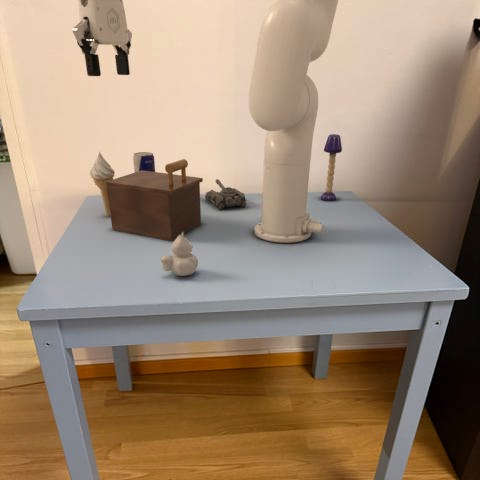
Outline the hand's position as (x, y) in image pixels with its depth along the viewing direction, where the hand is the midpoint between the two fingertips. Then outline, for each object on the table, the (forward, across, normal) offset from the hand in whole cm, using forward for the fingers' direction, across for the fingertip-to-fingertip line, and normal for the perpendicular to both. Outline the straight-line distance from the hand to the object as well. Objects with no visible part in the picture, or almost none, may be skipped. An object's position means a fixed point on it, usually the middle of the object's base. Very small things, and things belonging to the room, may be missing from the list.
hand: (109, 75), depth 100 cm
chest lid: (+20, -8, -16) cm, 27 cm away
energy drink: (+30, +9, 0) cm, 31 cm away
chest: (+30, -8, -15) cm, 35 cm away
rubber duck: (+30, -28, -34) cm, 53 cm away
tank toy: (+30, +16, -20) cm, 40 cm away
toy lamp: (+30, +33, -43) cm, 62 cm away
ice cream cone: (+30, -7, 0) cm, 31 cm away
